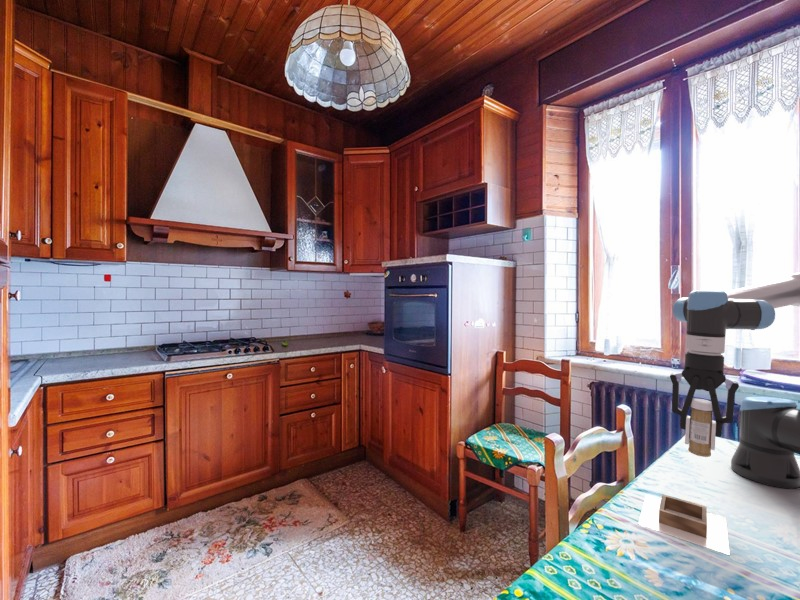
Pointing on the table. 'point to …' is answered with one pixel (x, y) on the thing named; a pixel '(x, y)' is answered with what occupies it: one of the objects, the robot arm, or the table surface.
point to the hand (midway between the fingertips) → (699, 445)
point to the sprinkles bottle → (700, 427)
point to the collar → (682, 521)
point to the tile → (713, 540)
